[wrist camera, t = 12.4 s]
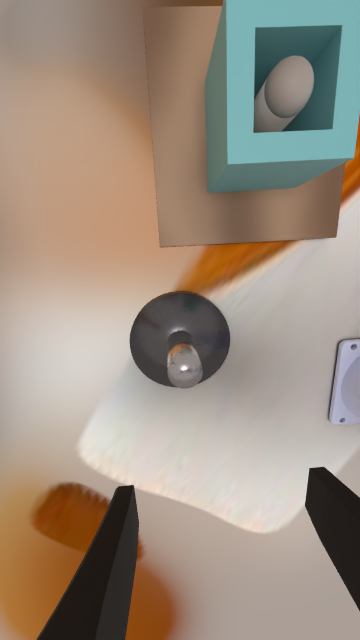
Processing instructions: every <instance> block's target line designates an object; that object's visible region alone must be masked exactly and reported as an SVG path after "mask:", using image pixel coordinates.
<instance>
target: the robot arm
mask: <svg viewBox="0 0 360 640" xmlns="http://www.w3.org/2000/svg"><path fill="white" fill-rule="evenodd" d="M351 345H353V347H352V348H351ZM329 421H330V422H331V423H332V424H333V425H342V424H353V423H360V339H353V340H344V341H342V342H341V343H340V345H339V350H338V357H337V364H336V371H335V379H334V386H333V393H332V400H331V408H330V415H329ZM305 507H306V509H307V511H308V514H309V516H310V518H311V521H312V523H313V525H314V527H315V529H316V532H317V534H318V536H319V538H320V540H321V542H322V544H323V546H324V547H325V549H326V551H327V553H328V555H329V557H330V558H331V560H332V562H333V564H334V566H335V567H336V569H337V571H338V573H339V574H340V576H341V578H342V580H343V582H344V584H345V585H346V587H347V589H348V591H349V593H350V594H351V596H352V598H353V600H354V602H355V603H356V605H357V607H358V609H359V611H360V498H359V497H358V496H357V495H356V494H355V493H354V492H352V491H351V490H350V489H349V488H348V487H347V486H345V485H344V484H343V483H342V482H341V481H340V480H338V479H337V478H336V477H335V476H334V475H333V474H332V473H331V472H329V471H328V470H327V469H326V468H325V467H318V468H310V469H309V477H308V485H307V494H306V502H305ZM138 530H139V519H138V512H137V505H136V498H135V491H134V485H129V486H119V487H118V488H117V489H116V490H115V493H114V495H113V498H112V500H111V502H110V505H109V507H108V509H107V512H106V514H105V516H104V518H103V520H102V522H101V525H100V527H99V529H98V531H97V533H96V535H95V537H94V539H93V541H92V543H91V545H90V547H89V549H88V551H87V553H86V555H85V557H84V559H83V561H82V562H81V564H80V566H79V568H78V570H77V571H76V574H75V575H74V577H73V579H72V580H71V583H70V584H69V586H68V588H67V590H66V591H65V593H64V595H63V597H62V598H61V600H60V602H59V604H58V605H57V607H56V609H55V610H54V612H53V614H52V615H51V617H50V619H49V620H48V622H47V624H46V625H45V627H44V628H43V630H42V632H41V633H40V635H39V636H38V638H37V640H125V636H126V630H127V623H128V616H129V609H130V602H131V594H132V588H133V581H134V574H135V566H136V559H137V546H138Z"/></svg>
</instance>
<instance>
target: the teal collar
mask: <svg viewBox="0 0 360 640" xmlns="http://www.w3.org/2000/svg"><path fill="white" fill-rule="evenodd" d="M294 55H296V56H302V57H304V58H305V59H307V60H308V61H309V63H310V64H311V66H312V69H313V73H314V85H313V90H312V93H311V96H310V98H309V100H308V102H307V103H306V105H305V106H304V108H303V109H302V110H301V111H300V112H299V113H298V114H297V115H296V116H295V118H294V119H293V120H292V121H291V122H290V123H289V124H288V125H287V126H286V127H285V128H284V129H283V130H282V131H281V132H264V133H253V127H254V100H255V98H256V96H257V94H258V93H259V91H260V89H261V87H262V86H263V84H264V82H265V80H266V79H267V77H268V75H269V74H270V72H271V71H272V69H273V68H274V67H275V66H276V65H277V64H278V63H279V62H280V61H281V60H283V59H285V58H287V57H289V56H294ZM359 113H360V0H224V1H223V6H222V10H221V14H220V19H219V23H218V27H217V32H216V36H215V40H214V45H213V49H212V54H211V58H210V62H209V67H208V71H207V75H206V80H205V115H206V150H207V185H208V193H215V192H232V191H250V190H268V189H286V188H296V187H298V186H299V185H301V184H303V183H305V182H307V181H309V180H311V179H313V178H315V177H317V176H319V175H321V174H323V173H325V172H327V171H329V170H331V169H333V168H335V167H337V166H339V165H341V164H343V163H345V162H347V161H349V160H351V159H353V158H354V155H355V146H356V138H357V130H358V121H359Z"/></svg>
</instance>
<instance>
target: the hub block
mask: <svg viewBox="0 0 360 640" xmlns="http://www.w3.org/2000/svg"><path fill="white" fill-rule="evenodd" d="M221 10H222V6H204V7H143V19H144V20H143V21H144V33H145V34H144V35H145V48H146V62H147V76H148V89H149V103H150V115H151V130H152V144H153V157H154V170H155V185H156V199H157V212H158V226H159V238H160V239H159V240H160V247H176V246H195V245H214V244H232V243H250V242H268V241H287V240H305V239H323V238H334V237H336V236H337V227H338V219H339V210H340V202H341V194H342V185H343V177H344V168H345V163H343V164H341V165H339V166H337V167H335V168H333V169H331V170H329V171H327V172H325V173H323V174H321V175H319V176H317V177H315V178H313V179H311V180H309V181H307V182H305V183H303V184H301V185H299V186H298V187H296V188H286V189H268V190H250V191H232V192H215V193H208V185H207V150H206V115H205V80H206V75H207V71H208V67H209V62H210V58H211V54H212V49H213V45H214V40H215V36H216V32H217V27H218V23H219V19H220V14H221ZM313 85H314V73H313V69H312V66H311V64H310V63H309V61H308V60H307V59H305V58H304V57H302V56H296V55H294V56H289V57H287V58H285V59H283V60H281V61H280V62H279V63H278V64H277V65H276V66H275V67H274V68H273V69H272V71H271V72H270V74H269V75H268V77H267V79H266V80H265V82H264V84H263V86H262V87H261V89H260V91H259V93H258V94H257V96H256V98H255V100H254V127H253V133H264V132H281V131H282V130H283V129H284V128H285V127H286V126H287V125H288V124H289V123H290V122H291V121H292V120H293V119H294V118H295V116H296V115H297V114H298V113H299V112H300V111H301V110H302V109H303V108H304V106H305V105H306V103H307V102H308V100H309V98H310V96H311V93H312V90H313Z"/></svg>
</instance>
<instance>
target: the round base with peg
mask: <svg viewBox="0 0 360 640" xmlns="http://www.w3.org/2000/svg"><path fill="white" fill-rule="evenodd" d="M229 345H230V333H229V328H228V325H227V322H226V320H225V318H224V316H223V315H222V313H221V312H220V311H219V309H218V308H217V307H216V306H215V305H214V304H213V303H211V302H210V301H209V300H208V299H206V298H204V297H203V296H200V295H198V294H195V293H191V292H184V291H176V292H169V293H166V294H163V295H160V296H158V297H156V298H154V299H153V300H151V301H150V302H149V303H147V304H146V305H145V306H144V307H143V308H142V309H141V311H140V312H139V314H138V315H137V317H136V319H135V321H134V324H133V326H132V329H131V333H130V348H131V353H132V356H133V359H134V361H135V363H136V365H137V366H138V367H139V369H140V370H141V371H142V372H143V373H144V374H145V375H146V376H147V377H148V378H150V379H152V380H153V381H155V382H157V383H159V384H162V385H165V386H170V387H179V388H190V387H193V386H195V385H196V384H198V383H201V382H203V381H205V380H206V379H208V378H209V377H211V376H212V375H213V374H214V373H215V372H216V371H217V370H218V369H219V368H220V367H221V365H222V364H223V362H224V360H225V358H226V356H227V353H228V350H229Z"/></svg>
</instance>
